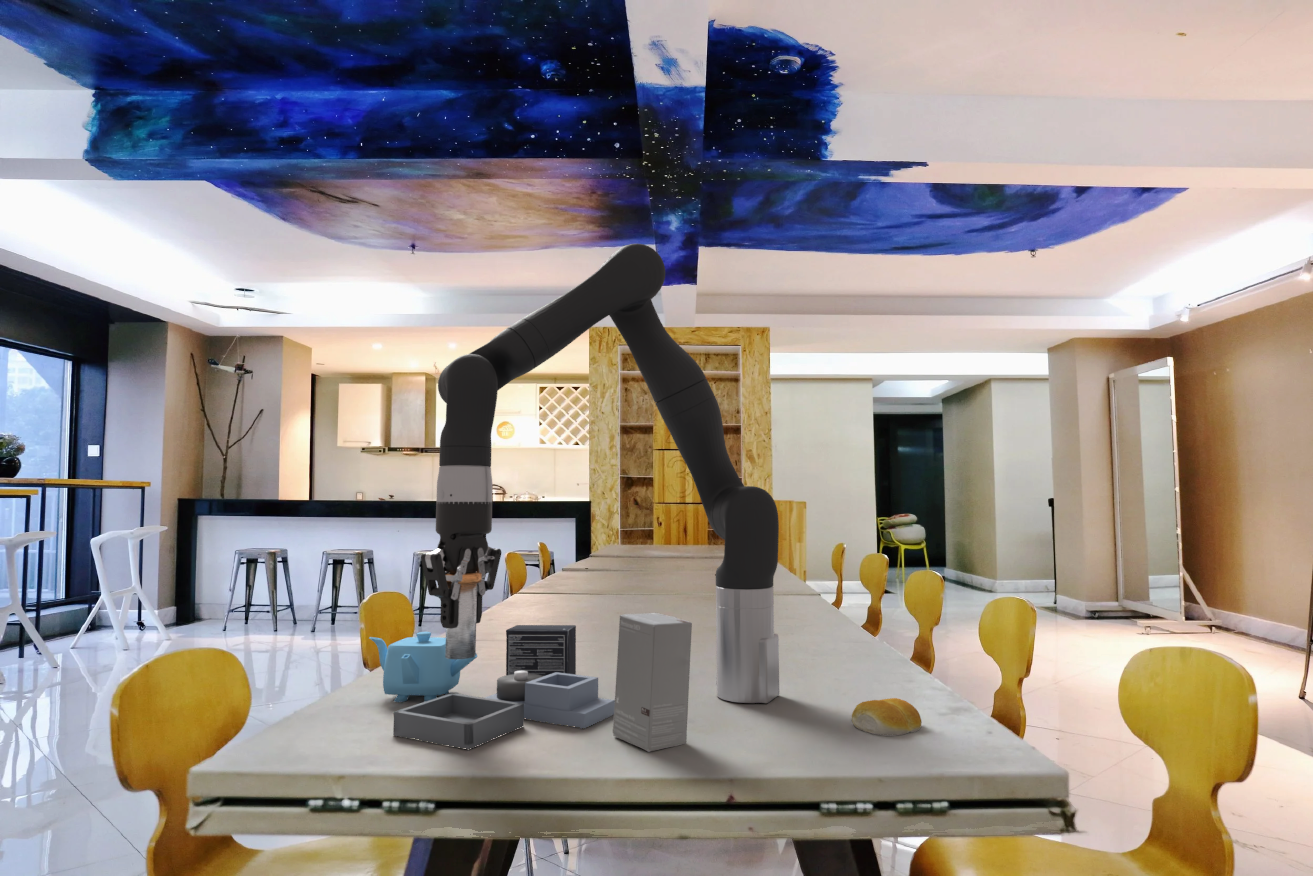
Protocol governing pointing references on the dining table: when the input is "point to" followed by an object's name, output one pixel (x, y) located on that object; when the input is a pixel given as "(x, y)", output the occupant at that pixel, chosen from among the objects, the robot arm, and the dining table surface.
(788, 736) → the dining table surface
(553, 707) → the block
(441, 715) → the tray
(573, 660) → the small box
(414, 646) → the teapot
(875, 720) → the bread roll
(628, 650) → the skincare box
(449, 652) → the copper capped glass jar
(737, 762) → the dining table surface
